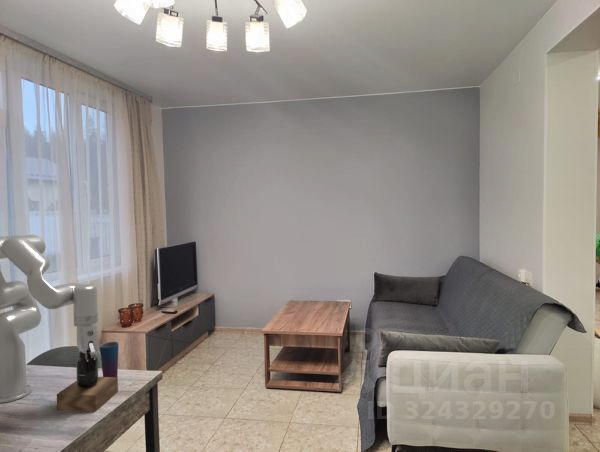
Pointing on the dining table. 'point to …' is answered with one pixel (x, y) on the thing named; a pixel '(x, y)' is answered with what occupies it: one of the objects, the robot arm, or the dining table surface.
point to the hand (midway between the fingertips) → (87, 367)
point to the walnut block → (87, 395)
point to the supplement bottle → (82, 376)
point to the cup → (109, 359)
